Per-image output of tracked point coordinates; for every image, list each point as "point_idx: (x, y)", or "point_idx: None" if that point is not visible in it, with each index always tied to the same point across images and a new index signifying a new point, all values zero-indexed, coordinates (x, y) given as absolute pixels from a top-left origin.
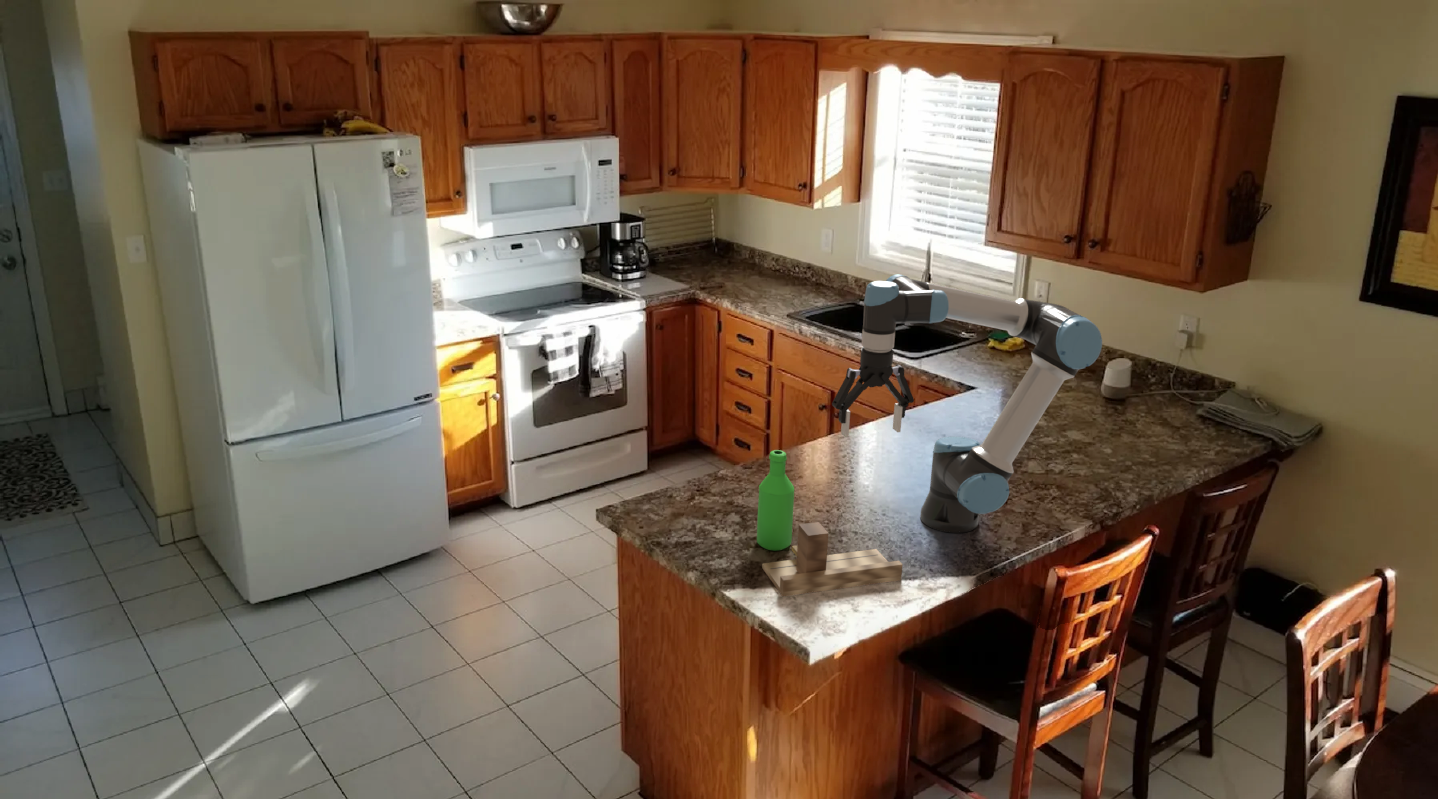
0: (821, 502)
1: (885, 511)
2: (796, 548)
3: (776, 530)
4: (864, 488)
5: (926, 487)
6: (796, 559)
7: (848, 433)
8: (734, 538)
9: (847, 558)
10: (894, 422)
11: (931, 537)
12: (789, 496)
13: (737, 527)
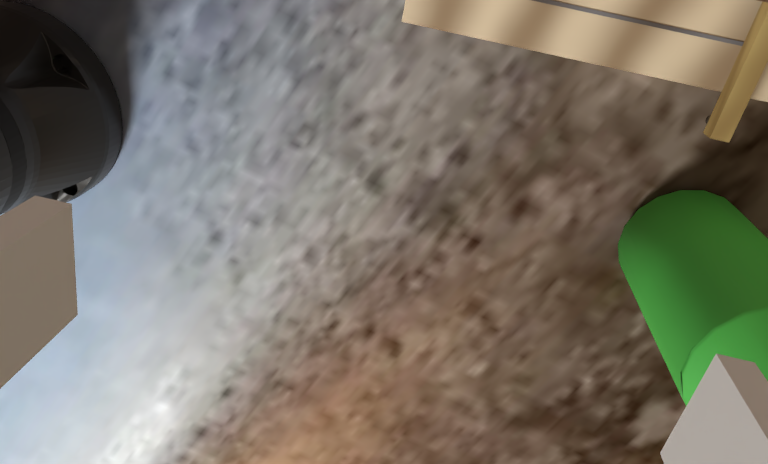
0: (352, 379)
1: (200, 251)
2: (731, 116)
3: (754, 228)
4: (184, 387)
5: None
6: None
7: (736, 386)
8: None
9: (553, 4)
10: (19, 338)
11: (146, 28)
12: (763, 296)
13: None
